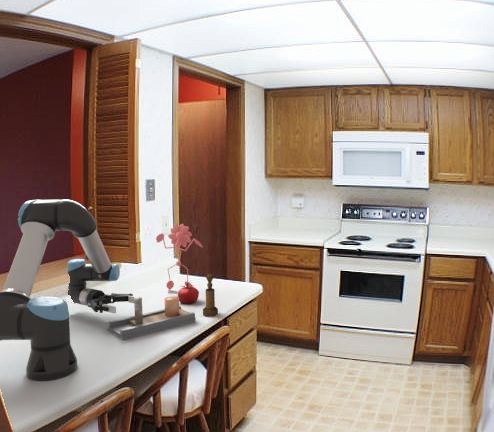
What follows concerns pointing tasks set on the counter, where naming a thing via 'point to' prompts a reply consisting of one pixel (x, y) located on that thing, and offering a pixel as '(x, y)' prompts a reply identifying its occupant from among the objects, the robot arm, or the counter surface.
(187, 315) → the track
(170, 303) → the canister
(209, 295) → the bronze statuette
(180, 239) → the pink branching stem figurine
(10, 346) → the counter surface
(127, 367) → the counter surface
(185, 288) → the pomegranate
